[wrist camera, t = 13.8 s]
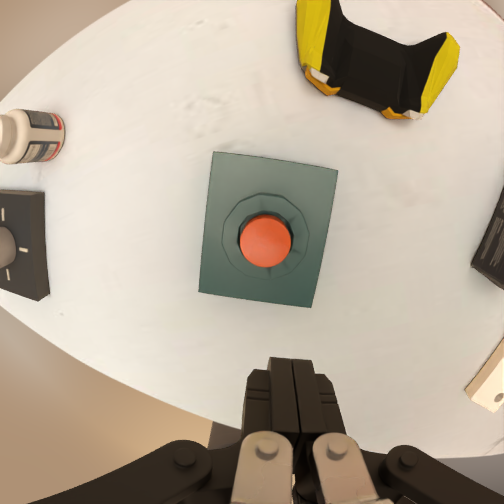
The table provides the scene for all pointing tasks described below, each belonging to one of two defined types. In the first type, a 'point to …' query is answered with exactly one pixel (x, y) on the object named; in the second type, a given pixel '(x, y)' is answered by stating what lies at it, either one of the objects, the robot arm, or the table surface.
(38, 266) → the dial panel
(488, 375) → the bracket
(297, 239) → the button block
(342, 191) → the table surface
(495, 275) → the small box
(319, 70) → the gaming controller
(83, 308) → the table surface
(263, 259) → the button
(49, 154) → the pill bottle
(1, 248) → the program dial
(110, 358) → the table surface
